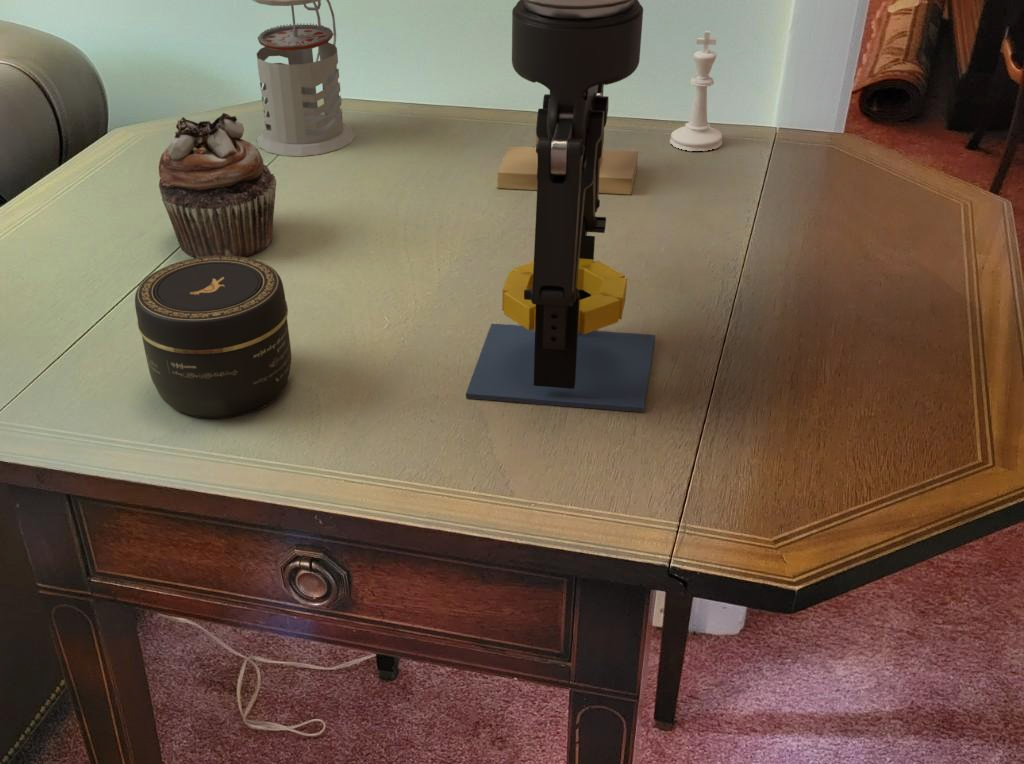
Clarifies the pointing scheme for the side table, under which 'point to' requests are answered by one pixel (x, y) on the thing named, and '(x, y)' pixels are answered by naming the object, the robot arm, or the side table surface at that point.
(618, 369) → the mat
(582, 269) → the ring
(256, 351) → the jar
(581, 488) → the side table surface
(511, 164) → the stand
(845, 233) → the side table surface
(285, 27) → the french press
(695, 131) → the chess piece
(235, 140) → the cupcake
